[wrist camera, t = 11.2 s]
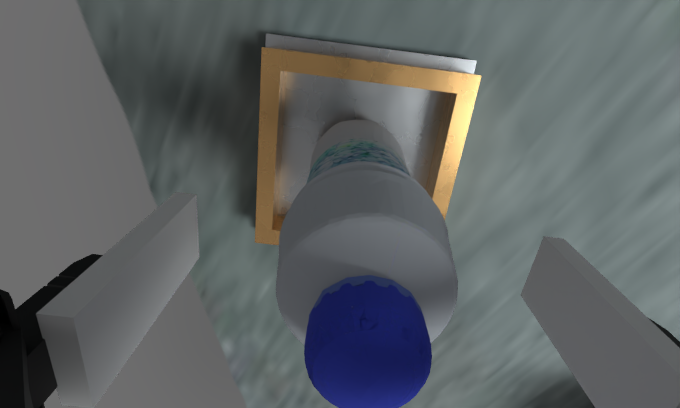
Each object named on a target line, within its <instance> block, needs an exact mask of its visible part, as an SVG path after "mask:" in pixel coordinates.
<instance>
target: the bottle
mask: <svg viewBox="0 0 680 408" xmlns="http://www.w3.org/2000/svg"><path fill="white" fill-rule="evenodd" d="M457 291H458V280H457V275H456V270H455V265H454V261H453V257H452V253H451V248H450V244H449V239H448V230H447V227H446V224H445V220H444V218H443V216H442V214H441V212H440V210H439V208H438V207H437V205H436V204H435V203H434V201H433V200H432V199H431V198H430V196H429V194H428V193H427V191H426V190H425V189H424V188H423V187H422V186H421V185H420V184H419V183H418V182H417V181H416V180H415V179H413V178H412V177H411V175H410V173H409V171H408V169H407V166H406V161H405V158H404V154H403V152H402V149H401V147H400V145H399V143H398V141H397V140H396V139H395V137H394V136H393V135H392V134H391V133H390V132H389V131H388V130H386V129H385V128H384V127H382V126H381V125H380V124H378V123H376V122H374V121H371V120H348V121H342V122H339V123H337V124H335V125H334V126H332V127H331V128H330V129H329V130H328V131H327V132H326V133H325V134H324V135H323V136H322V137H321V139H320V140H319V141H318V143H317V145H316V147H315V149H314V151H313V154H312V158H311V164H310V173H309V177H308V180H307V183H306V185H305V186H304V187H303V188H302V189H301V190H300V192H299V193H298V195H297V196H296V198H295V199H294V201H293V203H292V205H291V207H290V209H289V211H288V212H287V214H286V217H285V219H284V221H283V224H282V227H281V231H280V236H279V259H278V270H277V281H276V297H277V302H278V306H279V310H280V313H281V315H282V317H283V319H284V321H285V323H286V325H287V327H288V328H289V329H290V330H291V332H292V333H293V334H294V336H295V337H296V338H297V339H298V340H299V341H300V342H302V343H303V344H304V345H305V351H304V355H305V364H306V368H307V371H308V375H309V378H310V379H311V381H312V384H313V385H314V387H315V388H316V389H317V390H318V391H319V392H320V394H321V395H322V396H323V397H324V398H325V399H326V400H328V401H329V402H330V403H332V404H333V405H335V406H337V407H339V408H399V407H401V406H402V405H404V404H406V403H407V402H409V401H410V400H411V399H412V398H413V397H415V396H416V395H417V393H418V392H419V390H420V389H421V388H422V386H423V385H424V384H425V382H426V380H427V378H428V375H429V373H430V368H431V359H432V354H431V342H432V341H433V340H435V339H436V338H437V337H438V336H439V335H440V333H441V332H442V331H443V329H444V328H445V327H446V325H447V324H448V323H449V321H450V318H451V316H452V314H453V312H454V308H455V305H456V301H457Z"/></svg>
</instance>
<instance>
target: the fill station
mask: <svg viewBox="0 0 680 408" xmlns="http://www.w3.org/2000/svg"><path fill="white" fill-rule="evenodd" d="M476 62H477V61H473V60H466V59H458V58H450V57H443V56H435V55H428V54H420V53H412V52H405V51H397V50H389V49H382V48H374V47H366V46H359V45H351V44H344V43H336V42H328V41H321V40H313V39H305V38H298V37H290V36H282V35H275V34H267V33H266V44H265V47H262V52H261V81H260V111H259V140H258V169H257V198H256V227H255V242H256V243H264V244H273V245H279V236H280V231H281V227H282V224H283V221H284V219H285V217H286V214H287V212H288V211H289V209H290V207H291V205H292V203H293V201H294V199H295V198H296V196H297V195H298V193H299V192H300V190H301V189H302V188H303V187H304V186H305V185H306V183H307V180H308V177H309V173H310V164H311V158H312V154H313V151H314V149H315V147H316V145H317V143H318V141H319V140H320V139H321V137H322V136H323V135H324V134H325V133H326V132H327V131H328V130H329V129H330V128H331V127H332V126H334V125H335V124H337V123H339V122H342V121H348V120H371V121H374V122H376V123H378V124H380V125H381V126H382V127H384V128H385V129H386V130H388V131H389V132H390V133H391V134H392V135H393V136H394V137H395V139H396V140H397V141H398V143H399V145H400V147H401V149H402V152H403V154H404V158H405V161H406V166H407V169H408V171H409V173H410V175H411V177H412V178H413V179H415V180H416V181H417V182H418V183H419V184H420V185H421V186H422V187H423V188H424V189H425V190H426V191H427V193H428V194H429V196H430V198H431V199H432V200H433V201H434V203H435V204H436V205H437V207H438V208H439V210H440V212H441V214H442V216H443V218H444V220H445V217H446V213H447V209H448V205H449V201H450V197H451V193H452V189H453V185H454V182H455V178H456V174H457V170H458V166H459V162H460V158H461V154H462V150H463V146H464V142H465V139H466V135H467V131H468V127H469V123H470V119H471V115H472V111H473V107H474V103H475V99H476V96H477V92H478V88H479V84H480V80H481V75H476V74H474V70H475V66H476Z"/></svg>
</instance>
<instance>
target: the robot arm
mask: <svg viewBox="0 0 680 408" xmlns="http://www.w3.org/2000/svg"><path fill="white" fill-rule="evenodd" d="M198 259H199V240H198V217H197V194H189V193H180V192H175V193H174V194H173V195H172V196H171V197H169V198H168V199H167V200H166V201H165V202H164V203H163V204H161V205H160V206H159V207H158V208H157V209H156V210H154V211H153V212H152V213H151V214H150V215H149V216H148V217H146V218H145V219H144V220H143V221H142V222H141V223H140V224H138V225H137V226H136V227H135V228H134V229H133V230H131V231H130V232H129V233H128V234H127V235H126V236H125V237H124V238H122V239H121V240H120V241H119V242H118V243H117V244H116V245H114V246H113V247H112V248H111V249H110V250H108V251H107V252H106V253H105V254H104V255H96V254H91V255H89V256H87V257H85V258H83V259H81V260H79V261H76V262H74V263H73V264H71V265H70V266H69V267H68V268H66V269H65V270H64V271H63V272H61V273H60V274H59V277H55V278H54V279H53V280H51V281H50V282H49V283H48V285H47V286H44V287H43V288H41V289H40V290H39V291H38V292H36V293H35V294H34V295H33V296H32V297H30V298H29V299H28V300H27V301H25V302H24V303H23V304H22V305H20V306H19V307H18V308H17V309H15V308H14V304H13V301H12V298H11V296H10V295H9V293H8V292H6V291H3V290H0V408H45V406H44V402H45V401H46V399H47V398H48V397H49V396H50V395H51V393H52V392H53V391H54V390H55V389H56V388H57V392H58V396H59V399H60V403H61V405H65V406H75V407H84V408H94V407H95V406H96V405H97V403H98V402H99V400H100V399H101V398H102V396H103V395H104V393H105V392H106V390H107V389H108V387H109V386H110V385H111V383H112V382H113V380H114V379H115V377H116V376H117V375H118V373H119V372H120V370H121V369H122V367H123V366H124V365H125V363H126V362H127V360H128V359H129V357H130V356H131V355H132V353H133V352H134V350H135V349H136V347H137V346H138V344H139V343H140V342H141V340H142V339H143V337H144V336H145V334H146V333H147V332H148V330H149V328H150V327H151V326H152V324H153V323H154V321H155V320H156V319H157V317H158V316H159V314H160V313H161V311H162V310H163V309H164V307H165V306H166V304H167V303H168V302H169V300H170V299H171V297H172V296H173V294H174V293H175V291H176V290H177V288H178V287H179V286H180V284H181V283H182V281H183V280H184V278H185V277H186V276H187V274H188V273H189V271H190V270H191V269H192V267H193V266H194V264H195V263H196V261H197V260H198ZM521 296H522V298H523V299H524V301H525V302H526V304H527V305H528V307H529V308H530V310H531V311H532V313H533V314H534V316H535V317H536V319H537V320H538V322H539V324H540V325H541V327H542V328H543V330H544V331H545V333H546V334H547V336H548V337H549V339H550V340H551V342H552V343H553V345H554V346H555V348H556V349H557V351H558V352H559V354H560V355H561V357H562V358H563V360H564V361H565V363H566V364H567V366H568V367H569V369H570V370H571V372H572V373H573V375H574V377H575V378H576V380H577V381H578V383H579V384H580V386H581V387H582V389H583V390H584V392H585V393H586V395H587V396H588V398H589V399H590V401H591V402H592V404H593V405H594V407H595V408H680V342H679V341H678V340H677V339H676V338H675V337H674V336H673V335H672V334H671V333H670V332H668V331H667V330H666V329H664V328H663V327H661V326H660V325H658V324H657V323H655V322H654V321H652V320H651V319H649V318H648V317H646V316H645V315H644V314H643V313H642V312H641V311H640V310H639V309H638V308H637V307H636V306H635V305H634V304H632V303H631V302H630V301H629V300H628V299H627V298H626V297H625V296H624V295H623V294H622V293H621V292H620V291H619V290H618V289H617V288H615V287H614V286H613V285H612V284H611V283H610V282H609V281H608V280H607V279H606V278H605V277H604V276H603V275H602V274H601V273H600V272H598V271H597V270H596V269H595V268H594V267H593V266H592V265H591V264H590V263H589V262H588V261H587V260H586V259H585V258H584V257H583V256H581V255H580V254H579V253H578V252H577V251H576V250H575V249H574V248H573V247H572V246H571V245H570V244H569V243H568V242H567V241H566V240H564V239H562V238H553V237H545V236H544V237H543V240H542V242H541V245H540V247H539V250H538V253H537V255H536V258H535V260H534V263H533V265H532V268H531V270H530V273H529V275H528V278H527V280H526V283H525V285H524V288H523V290H522V293H521Z"/></svg>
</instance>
